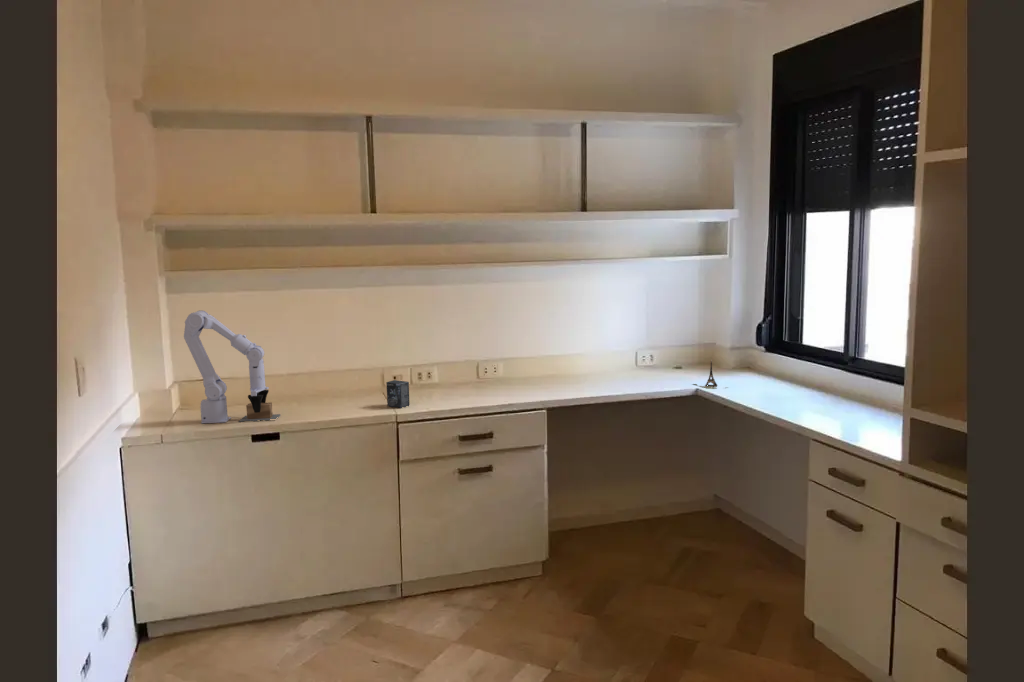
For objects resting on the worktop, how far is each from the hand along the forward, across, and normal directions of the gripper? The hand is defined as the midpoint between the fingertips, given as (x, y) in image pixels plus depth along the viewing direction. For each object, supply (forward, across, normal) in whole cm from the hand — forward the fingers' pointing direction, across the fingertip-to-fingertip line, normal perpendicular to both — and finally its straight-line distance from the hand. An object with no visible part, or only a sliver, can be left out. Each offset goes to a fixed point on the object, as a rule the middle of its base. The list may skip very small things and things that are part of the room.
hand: (259, 410), depth 304 cm
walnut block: (+3, 0, 0) cm, 3 cm away
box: (+4, +13, -54) cm, 56 cm away
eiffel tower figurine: (+4, +30, -194) cm, 197 cm away
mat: (+3, 0, 0) cm, 3 cm away
